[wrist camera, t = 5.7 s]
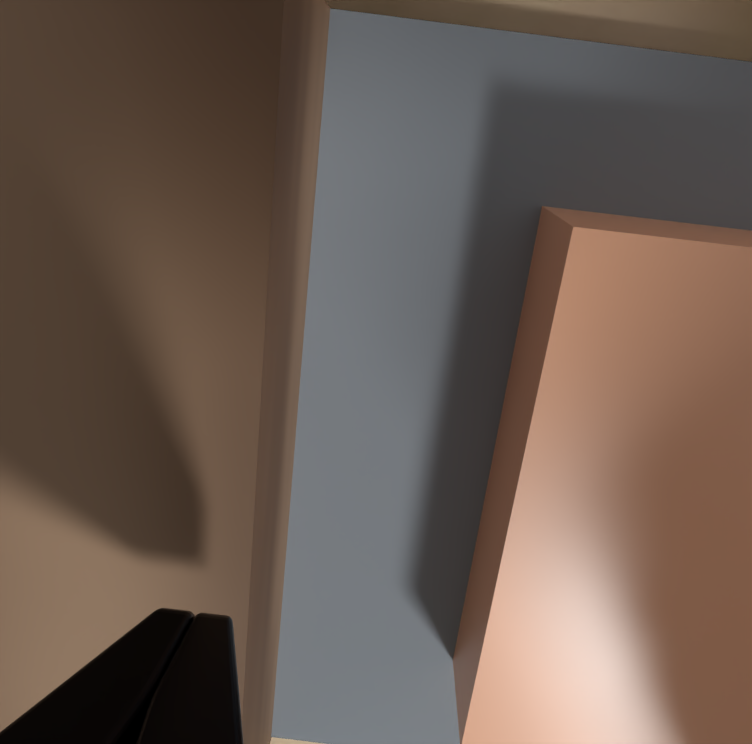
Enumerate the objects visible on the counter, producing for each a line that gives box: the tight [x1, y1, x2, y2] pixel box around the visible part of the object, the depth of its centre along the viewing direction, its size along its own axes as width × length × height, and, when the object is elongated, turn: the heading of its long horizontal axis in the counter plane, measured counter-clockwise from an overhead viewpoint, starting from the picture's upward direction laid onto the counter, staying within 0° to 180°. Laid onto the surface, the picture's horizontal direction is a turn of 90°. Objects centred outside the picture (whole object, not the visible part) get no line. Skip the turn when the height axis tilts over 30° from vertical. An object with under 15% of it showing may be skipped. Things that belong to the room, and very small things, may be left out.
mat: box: [271, 8, 752, 744], centre depth 12 cm, size 9×14×1 cm, turn 173°
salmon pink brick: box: [453, 206, 752, 744], centre depth 11 cm, size 6×9×2 cm, turn 174°
